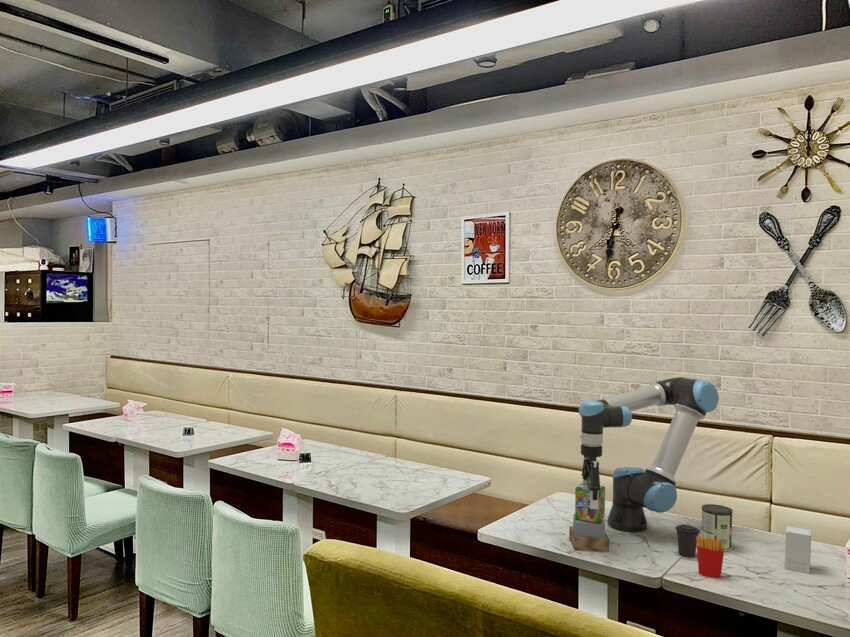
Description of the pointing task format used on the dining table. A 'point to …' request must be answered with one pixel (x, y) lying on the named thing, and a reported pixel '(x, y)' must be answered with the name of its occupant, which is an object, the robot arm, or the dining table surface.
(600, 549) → the walnut base block
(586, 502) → the chalk box
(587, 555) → the dining table surface
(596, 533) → the slate top block
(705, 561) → the french fries
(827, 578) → the dining table surface
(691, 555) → the coffee cup
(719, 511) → the coffee can
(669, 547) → the dining table surface
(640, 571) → the dining table surface
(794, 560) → the supplement box
